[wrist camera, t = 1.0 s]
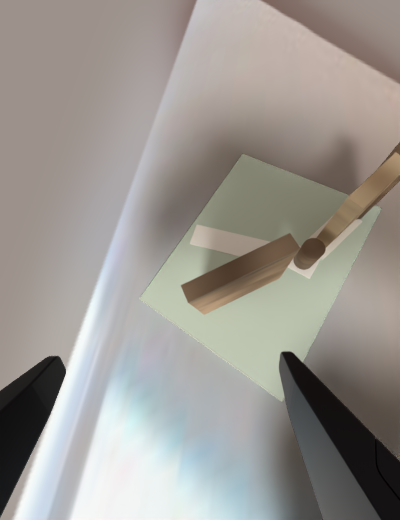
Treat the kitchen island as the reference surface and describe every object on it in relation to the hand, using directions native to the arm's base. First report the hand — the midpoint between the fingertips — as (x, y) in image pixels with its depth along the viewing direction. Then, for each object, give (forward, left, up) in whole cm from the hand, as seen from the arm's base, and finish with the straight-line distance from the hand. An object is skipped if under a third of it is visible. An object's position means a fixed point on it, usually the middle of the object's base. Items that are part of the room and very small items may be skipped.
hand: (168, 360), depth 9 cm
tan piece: (-4, -16, -13) cm, 21 cm away
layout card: (+1, -11, -13) cm, 17 cm away
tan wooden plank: (0, -6, -12) cm, 14 cm away
